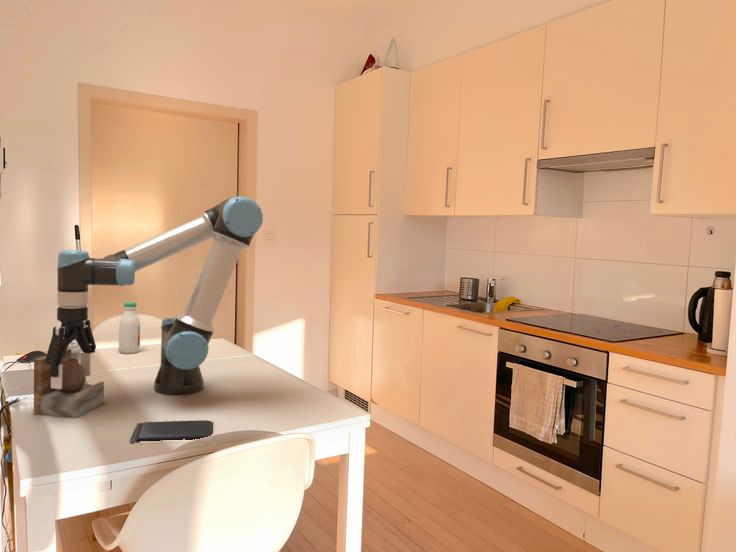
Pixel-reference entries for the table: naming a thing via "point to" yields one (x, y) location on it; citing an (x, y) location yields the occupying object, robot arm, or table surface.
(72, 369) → the vase
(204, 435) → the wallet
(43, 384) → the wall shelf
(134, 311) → the milk bottle
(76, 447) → the table surface
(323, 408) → the table surface
